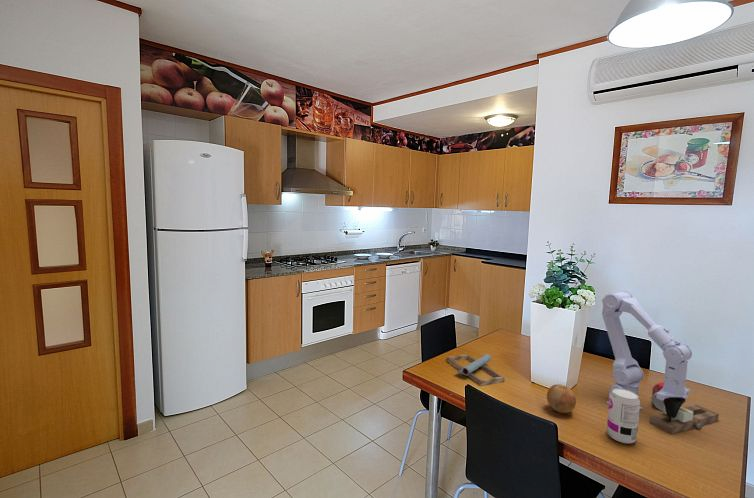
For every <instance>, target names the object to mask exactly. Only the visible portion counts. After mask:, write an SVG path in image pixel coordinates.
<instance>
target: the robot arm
mask: <svg viewBox="0 0 754 498" xmlns="http://www.w3.org/2000/svg"><path fill="white" fill-rule="evenodd" d="M601 303H602V310H601V315H602V319H603V323H604V326H605V329H606V332H607V336H608V339H609V342H610V345H611V347H612V352H613V355H614V362H613V363H612V368H613V373H612V376H613V379H614V381H615V384H613V385H612V386H611V387H609V394H608V399H609V398H610V393H611V392H612V390H613V389H625V390H629V391H631V392H633V393H635V394H637V395H638V396H639V390H640V383H641V381H643V380H644V377H645V374H644V371H643V369H642V368H641V367H640V365H639V362H638V361H637V360H636V359H635V358H633V357H632V354H631V350H630V347H629V345H628V339H627V337H626V334H625V330H624V328H623V324H622V322H621V318H620V316H621V315H622V314H623V313H628V314H630V315H632V316H633V317H634V319H635V320H637V321H638V322H639V323H640V324H641V325H643V327H644V328H645V329H647V335H648V337H650V339H651V340H652V341H654V343H655V344H656V345H657V346H658V348H660V350H661V351H662V356H663V357H664V359H665V367H664V368H665V369H664V377H663V378H664V379H663V383H664V386H663V388H662V389H661V390H660V391H659V392H658V393H657V395H656V398H657V399H660V400H662V401H663V402H664V405H665V409H666V414H667V415H668V416H670V417H672V418H675V417H676V415H677V413H678V411H679V409H680V407H683V406H682V405H684V403H686V400H687V399H688V398H689V395H690V394H691V389H690V388H688V387H686V381H687V372H688V363H689V362H688V361H689V360H690V359H691V358H692V357H693V353H692V350H691V348H690V347H689V345H687V344H685V343H681V341H680V340H679V339H677V338H676V337H675V336H673V334H672V333H670V329H669V328H668V327H665V326H663V325H659V324H657V323H656V322H655V320H654V319H652V317H651V316H650V315H649V314H648V313H647V312H646V310H645V309H644V308H643V307H642V306H641V305H640V303H639V301H638V298H636V297H634V296H633V294H631V292H629V291H619V292H608V293H606V294H605V295H604V296H603V298H602V299H601ZM606 404H608V405H609V400H607V401H606ZM640 410H643V407H642V406H640Z"/></svg>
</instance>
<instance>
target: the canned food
mask: <svg viewBox="0 0 754 498" xmlns="http://www.w3.org/2000/svg"><path fill="white" fill-rule="evenodd" d="M663 386H664V382H658V383H656V384H654V385H653V387H652V391H651V393H652V394H651V400H652V401H651V402H652V404H653V405H654V407H655V408H656V409H658V410H659V411H661V412H663V411H664V402H663V401H662V400H660V399H657V398H656V395H657V393H658V392H659V391H660V390H661V389H662V388H663Z"/></svg>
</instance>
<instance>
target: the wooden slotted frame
mask: <svg viewBox="0 0 754 498" xmlns="http://www.w3.org/2000/svg"><path fill="white" fill-rule="evenodd" d="M684 408H686V409H688V410H690V411H693V420H691V421H687V422H684V423H683V422H681V421H679V420H675V421H672V422H671V417H670V416H668V415H666V414H664V413H659V414H654V415H650V416H649V417H650V418H649V424H650V425H653V426H655V427H656V428H658V429H660V430H662V431H664V432H666V433H668V434H670V435H675V434H678V433H681V432H685V431H688V430H691V429H698V430H701V429H702V428H703V426H705V425H708V424H712V423H715V422H718V421H719V416H720V414H719V413H717V412H714V411H712V410H709V409H708V408H705V407H702V406H700V405H698V404H693V405H689V406H685V407H684Z"/></svg>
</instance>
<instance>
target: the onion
mask: <svg viewBox="0 0 754 498" xmlns="http://www.w3.org/2000/svg"><path fill="white" fill-rule="evenodd" d="M576 399H577V398H576V395H575V393H574V391H573V390H572V389H571V388H570V387H568V386H567V385H565V384H561V383H560V384H559V383H558V384H553V385H551V386H550V387H549V388H548V390H547V392H546V400H547V403H548V405H549V406H550V407H551V408H552V409H553V410H554V411H555V412H558V413H561V414H568V413H571V412H572V411H573V410H575V408H576V404H577V400H576Z"/></svg>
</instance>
